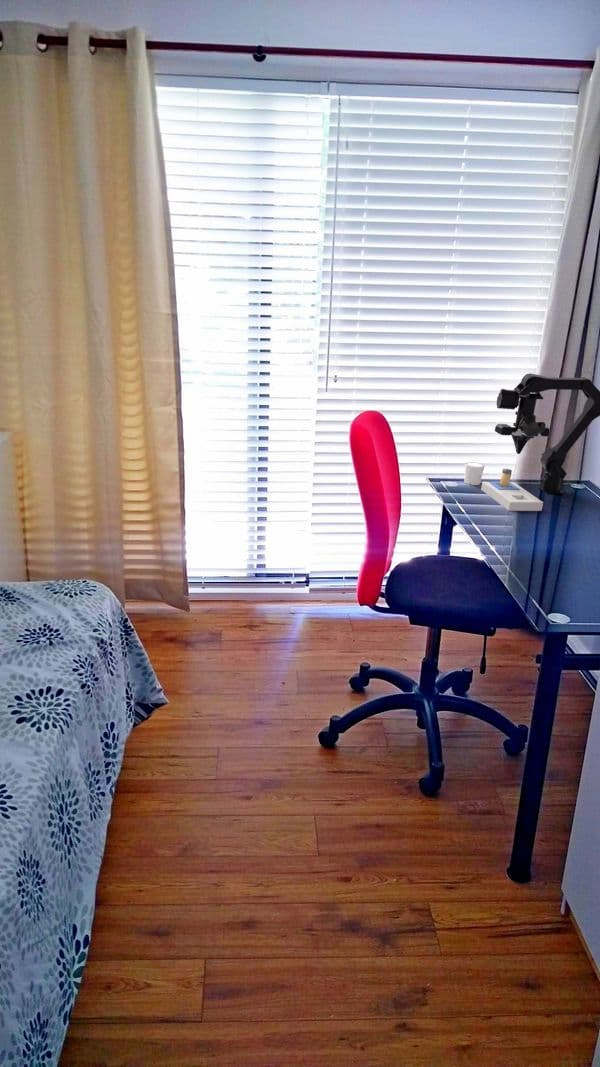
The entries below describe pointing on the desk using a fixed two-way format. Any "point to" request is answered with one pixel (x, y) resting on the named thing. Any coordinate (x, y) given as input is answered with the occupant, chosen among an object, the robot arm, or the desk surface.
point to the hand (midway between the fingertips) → (518, 453)
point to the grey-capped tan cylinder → (505, 478)
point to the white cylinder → (473, 473)
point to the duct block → (512, 497)
